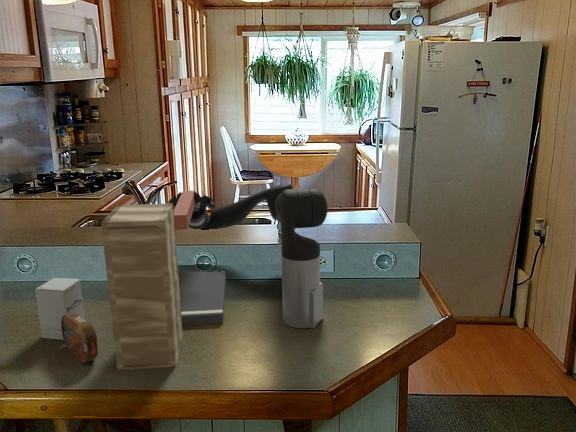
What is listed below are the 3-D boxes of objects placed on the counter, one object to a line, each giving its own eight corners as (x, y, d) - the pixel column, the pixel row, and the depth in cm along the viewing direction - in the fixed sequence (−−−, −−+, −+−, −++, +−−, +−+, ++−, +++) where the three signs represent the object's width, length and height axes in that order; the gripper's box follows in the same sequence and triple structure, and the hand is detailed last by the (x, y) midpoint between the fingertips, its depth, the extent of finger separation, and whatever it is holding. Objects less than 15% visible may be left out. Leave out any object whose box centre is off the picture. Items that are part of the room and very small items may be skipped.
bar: (183, 203, 149) (182, 191, 148) (196, 202, 149) (195, 190, 148) (172, 229, 124) (171, 215, 123) (187, 229, 124) (186, 215, 123)
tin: (62, 344, 121) (57, 310, 118) (75, 339, 123) (71, 306, 120) (87, 369, 110) (83, 333, 108) (102, 364, 112) (98, 328, 110)
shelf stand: (130, 337, 123) (117, 205, 114) (182, 334, 124) (172, 203, 115) (117, 370, 109) (100, 222, 101) (175, 366, 110) (164, 220, 102)
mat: (165, 281, 156) (164, 272, 156) (225, 278, 158) (225, 270, 157) (148, 327, 128) (147, 317, 127) (223, 323, 129) (222, 313, 128)
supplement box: (69, 341, 122) (62, 290, 118) (41, 338, 123) (33, 288, 120) (87, 326, 129) (81, 278, 125) (60, 324, 130) (53, 276, 127)
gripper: (170, 200, 161) (161, 183, 144) (216, 199, 162) (213, 181, 145) (170, 224, 159) (161, 209, 142) (217, 222, 160) (213, 207, 143)
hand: (187, 195), depth 144 cm, fingers closed on bar, 3 cm apart
